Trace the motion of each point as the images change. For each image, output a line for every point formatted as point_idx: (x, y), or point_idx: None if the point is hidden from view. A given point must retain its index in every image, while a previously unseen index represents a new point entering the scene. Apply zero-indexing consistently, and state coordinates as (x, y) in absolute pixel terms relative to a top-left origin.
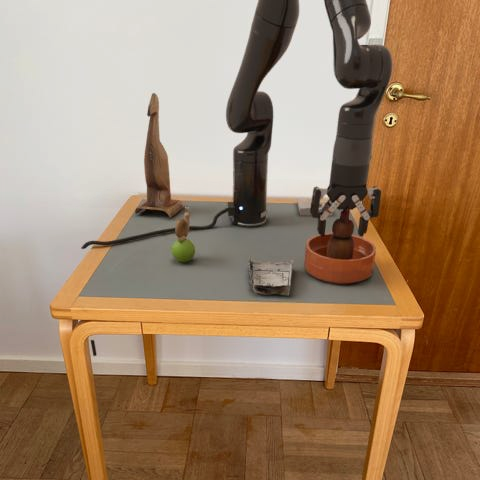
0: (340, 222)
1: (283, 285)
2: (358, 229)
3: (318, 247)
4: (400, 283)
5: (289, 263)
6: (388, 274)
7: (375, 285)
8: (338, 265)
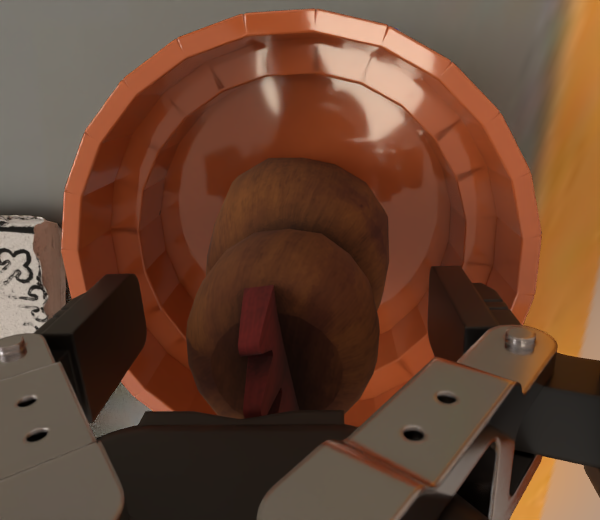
0: (234, 415)
1: None
2: (436, 279)
3: (182, 100)
4: (578, 355)
5: (35, 217)
6: (562, 266)
7: None
8: None
